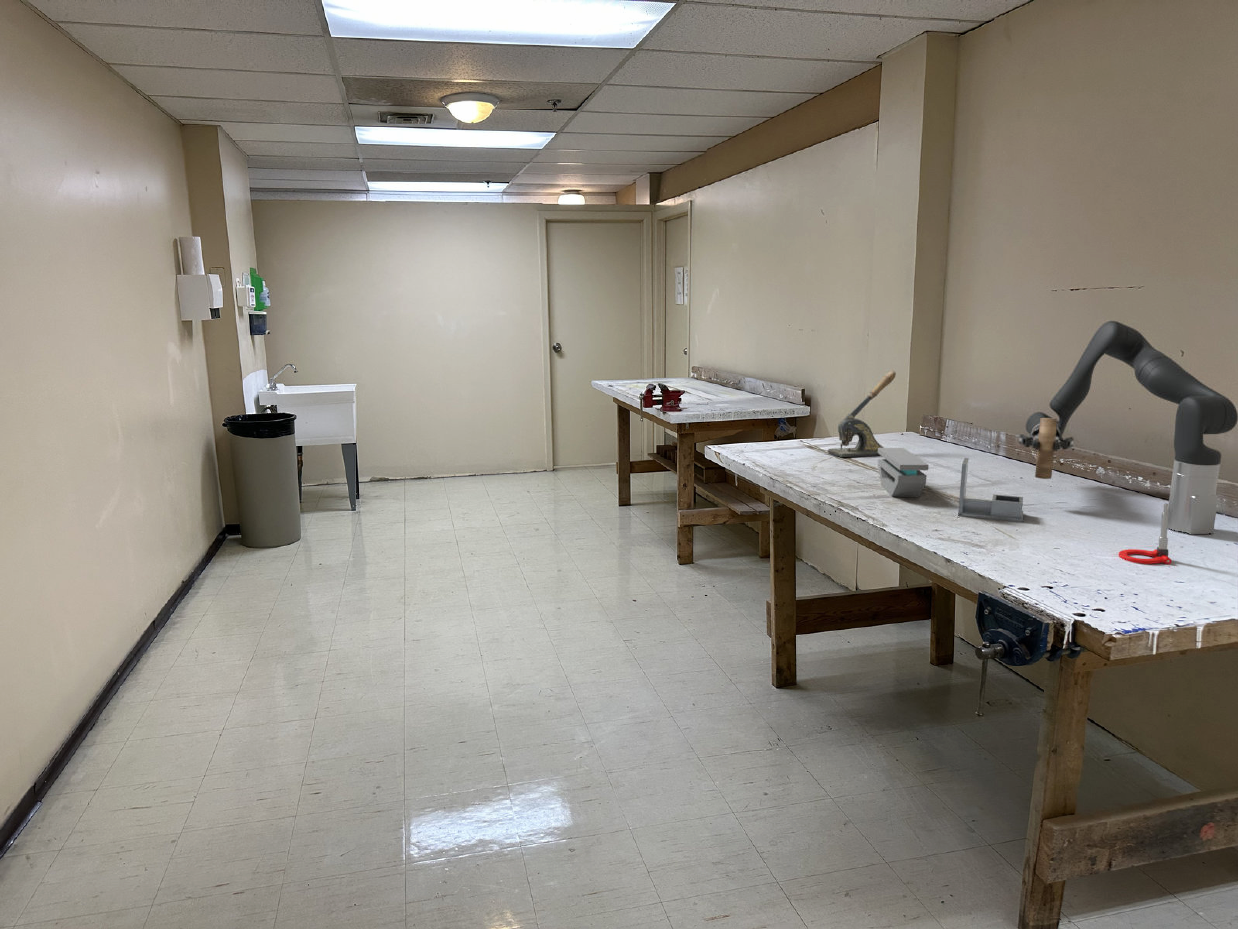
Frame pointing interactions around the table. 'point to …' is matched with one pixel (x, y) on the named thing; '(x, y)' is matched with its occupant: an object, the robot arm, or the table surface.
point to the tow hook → (1158, 553)
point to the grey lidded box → (901, 472)
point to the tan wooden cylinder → (1046, 448)
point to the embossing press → (860, 427)
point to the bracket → (989, 503)
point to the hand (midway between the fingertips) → (1046, 446)
